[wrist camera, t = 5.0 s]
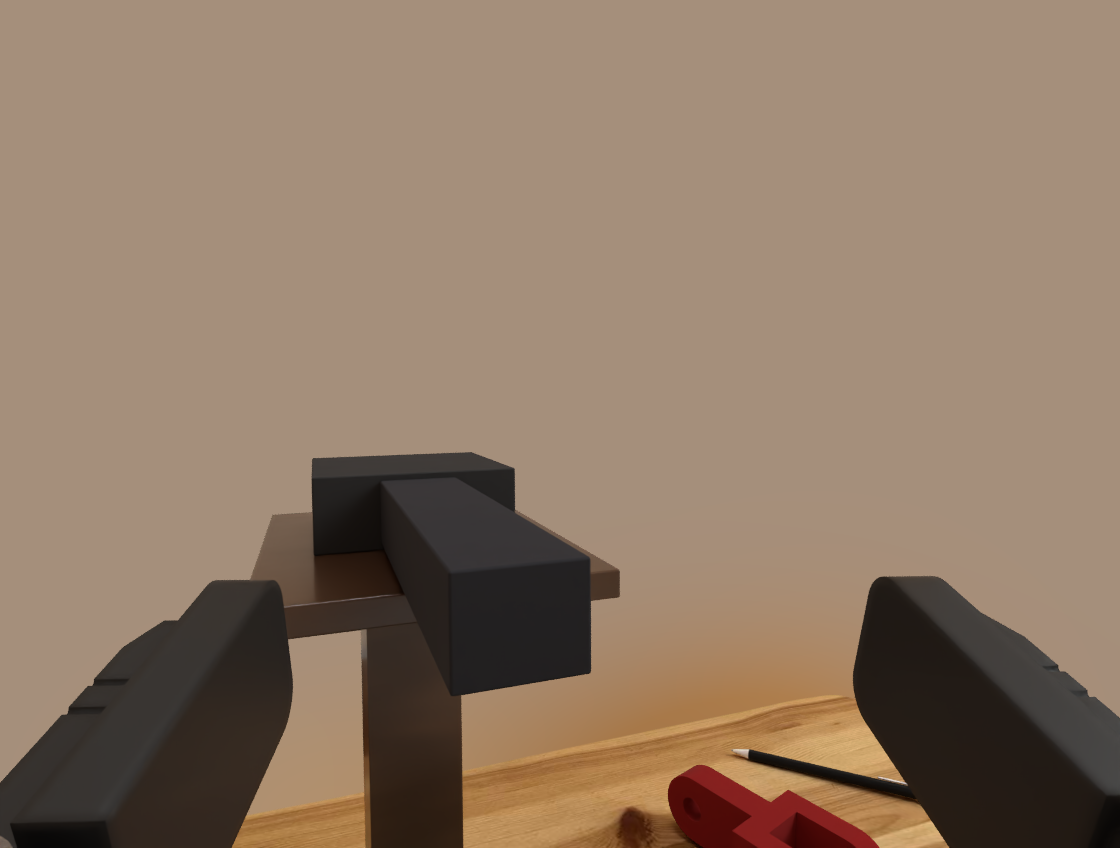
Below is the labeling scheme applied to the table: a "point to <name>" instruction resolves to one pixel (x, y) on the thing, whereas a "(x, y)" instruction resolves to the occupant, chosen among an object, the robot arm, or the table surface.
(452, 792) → the shelf stand
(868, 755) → the table surface
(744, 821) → the mechanical linkage
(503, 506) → the bar
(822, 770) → the pen
